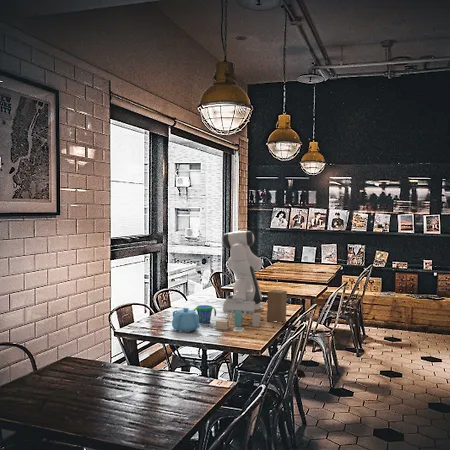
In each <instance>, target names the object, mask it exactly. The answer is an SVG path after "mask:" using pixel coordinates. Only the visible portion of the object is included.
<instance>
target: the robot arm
mask: <svg viewBox="0 0 450 450" xmlns="http://www.w3.org/2000/svg"><path fill="white" fill-rule="evenodd" d="M221 242H222V245H223V247H224V248H225V249H227V250H228V251H230V257H228V259H227V266H228V268H229V269H230V270H231V271H232V272H233V274H234V275H235V279H236V280H235V281H234V284H233V294H230V295H227V296H226V297H225V301H224V303H223V305H222V311H223V312H224V313H226V314H227V313H230V314H231V317H232V319H234V315H235V311H242V320H243V319H245V316H246V315H247V314H248V315H250V314H251V315H253V313H255V311H256V310H257V311H258V310H260V309H264V306H263V305H261V302H262V300H263V295H262V292H261V289H260V286H259V282H258V278H257V275H256V272H259V271H260V270H261V268H262V266H263V261H262V259H261V258H260V257H258V256H257V255H255V254H254V253H253V252H252V250H251V248H250V246H253V244H255V243H254V242H255V235H254V233H253V231H251V230H237V231H232V232H225V233H223V235H222V237H221Z"/></svg>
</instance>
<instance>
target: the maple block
mask: <svg viewBox="0 0 450 450" xmlns="http://www.w3.org/2000/svg"><path fill="white" fill-rule="evenodd" d="M229 328H230V318H229V319H227V318H217V319H216V320H215V329H216V330H228V329H229Z"/></svg>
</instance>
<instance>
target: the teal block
mask: <svg viewBox="0 0 450 450" xmlns="http://www.w3.org/2000/svg"><path fill="white" fill-rule="evenodd" d="M233 315H234V318H233V323H234V324H233V326H234V327H240V326H241V327H242V324H243V319H242V315H243V313H242V311H235V313H234V314H233Z"/></svg>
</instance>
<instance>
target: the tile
mask: <svg viewBox="0 0 450 450" xmlns="http://www.w3.org/2000/svg"><path fill="white" fill-rule="evenodd" d="M244 330H245V327H240V326H234V327H233V330H232V332H234V333H235V332H236V333H237V332H240V333H244Z"/></svg>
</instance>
